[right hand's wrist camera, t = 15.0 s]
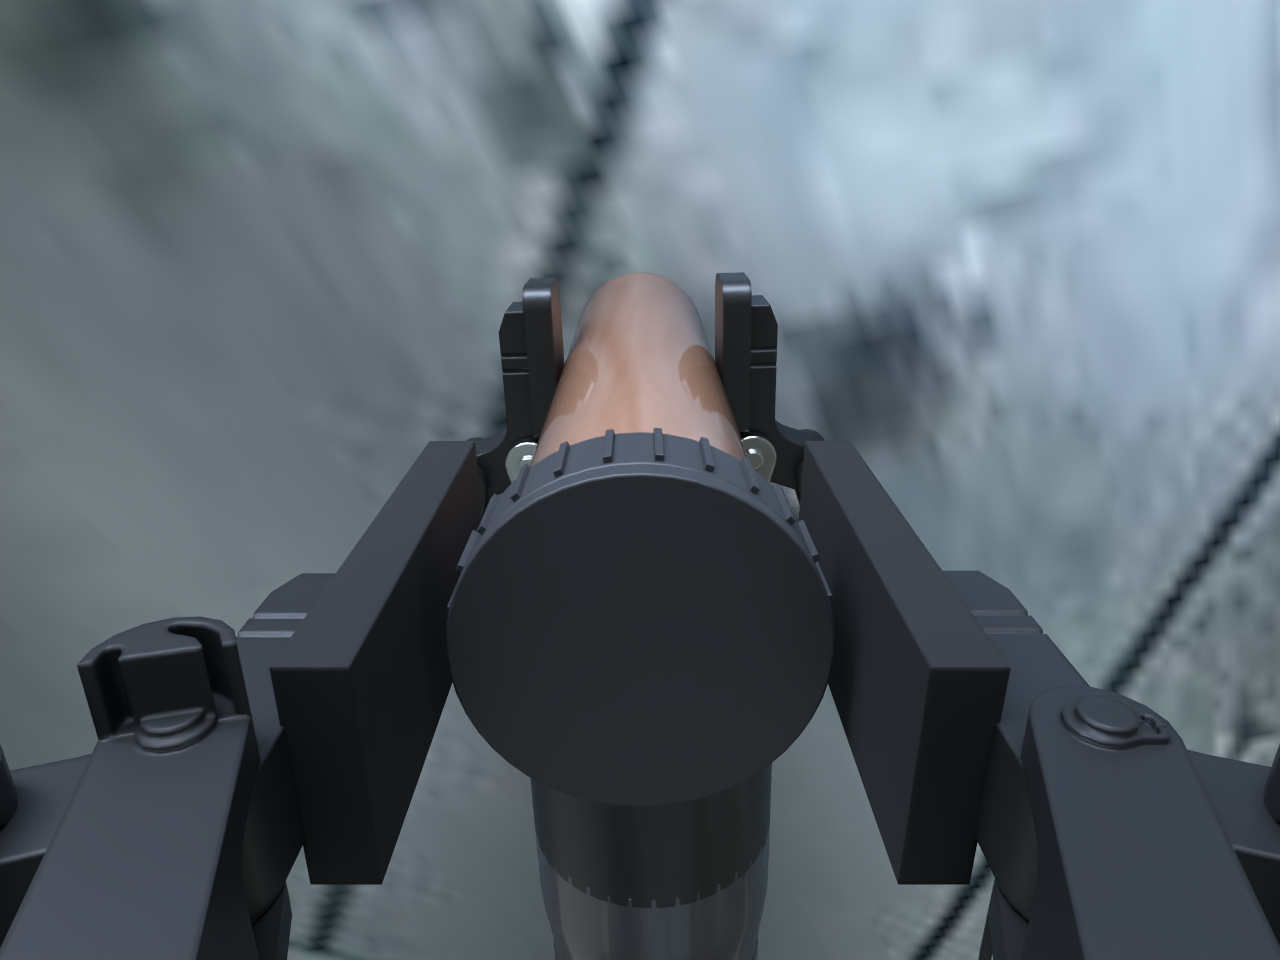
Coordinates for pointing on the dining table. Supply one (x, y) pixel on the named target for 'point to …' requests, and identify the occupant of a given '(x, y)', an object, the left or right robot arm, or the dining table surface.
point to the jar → (640, 371)
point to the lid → (640, 621)
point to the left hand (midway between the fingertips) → (635, 282)
